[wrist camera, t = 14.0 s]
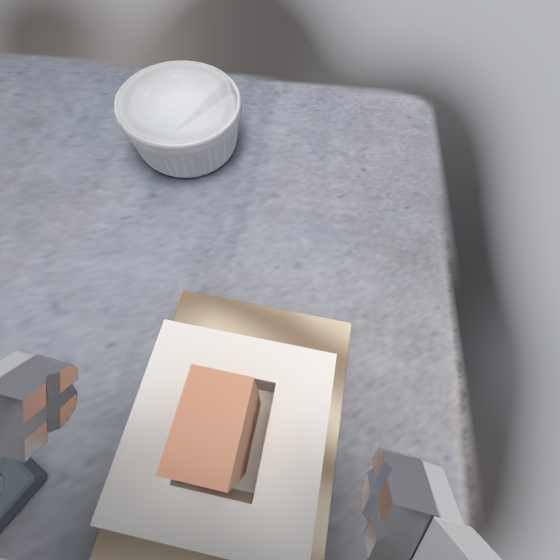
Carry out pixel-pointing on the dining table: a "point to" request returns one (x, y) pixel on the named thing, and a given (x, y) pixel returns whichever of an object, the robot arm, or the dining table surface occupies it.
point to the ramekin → (180, 116)
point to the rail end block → (212, 429)
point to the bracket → (18, 486)
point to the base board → (270, 326)
